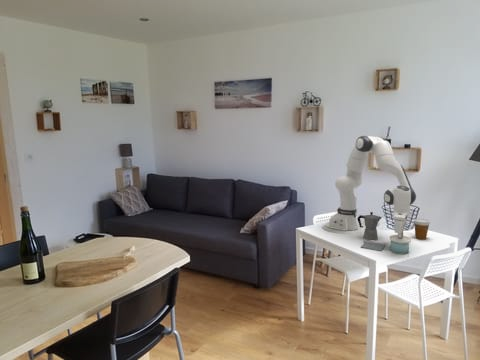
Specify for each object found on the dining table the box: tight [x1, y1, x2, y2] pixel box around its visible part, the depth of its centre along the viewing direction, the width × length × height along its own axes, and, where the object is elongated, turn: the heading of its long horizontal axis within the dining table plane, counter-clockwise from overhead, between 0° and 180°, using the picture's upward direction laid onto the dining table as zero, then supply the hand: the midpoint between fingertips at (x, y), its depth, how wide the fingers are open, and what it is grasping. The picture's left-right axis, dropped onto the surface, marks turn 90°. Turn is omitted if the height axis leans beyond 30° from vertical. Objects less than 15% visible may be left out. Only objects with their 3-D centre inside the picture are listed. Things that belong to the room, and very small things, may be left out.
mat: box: [360, 240, 386, 252], centre depth 220 cm, size 12×12×1 cm
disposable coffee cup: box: [413, 218, 431, 241], centre depth 232 cm, size 10×10×12 cm
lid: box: [389, 230, 412, 244], centre depth 210 cm, size 12×12×5 cm
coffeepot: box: [356, 211, 383, 241], centre depth 233 cm, size 15×9×18 cm, turn 81°
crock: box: [389, 240, 411, 255], centre depth 211 cm, size 11×11×7 cm
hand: (400, 236), depth 210 cm, fingers closed on lid, 3 cm apart
